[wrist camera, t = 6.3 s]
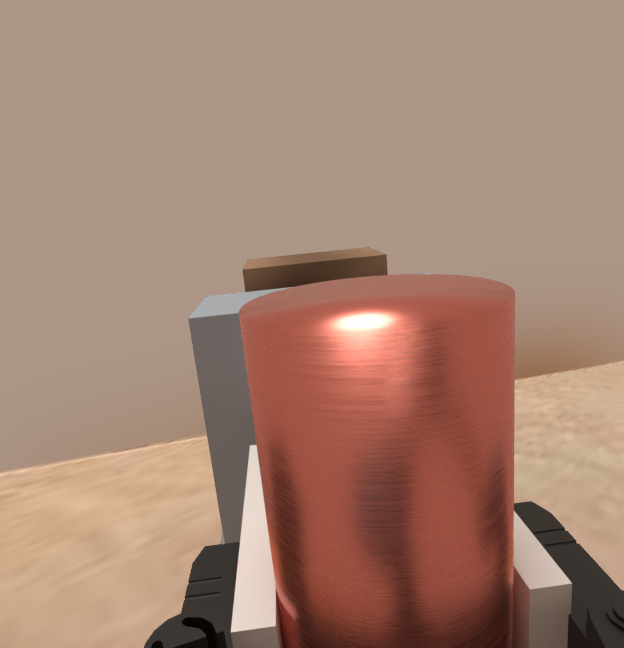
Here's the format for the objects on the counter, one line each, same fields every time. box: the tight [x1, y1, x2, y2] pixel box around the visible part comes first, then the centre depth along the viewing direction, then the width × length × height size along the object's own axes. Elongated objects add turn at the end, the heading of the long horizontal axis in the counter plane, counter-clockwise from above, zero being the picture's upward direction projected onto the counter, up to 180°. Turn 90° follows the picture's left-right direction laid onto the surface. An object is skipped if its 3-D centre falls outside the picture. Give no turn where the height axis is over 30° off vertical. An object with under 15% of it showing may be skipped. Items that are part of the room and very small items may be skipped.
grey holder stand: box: [189, 273, 432, 544], centre depth 21 cm, size 12×12×14 cm
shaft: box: [239, 274, 515, 648], centre depth 17 cm, size 4×19×15 cm, turn 5°
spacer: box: [243, 247, 387, 292], centre depth 22 cm, size 6×4×4 cm, turn 95°
